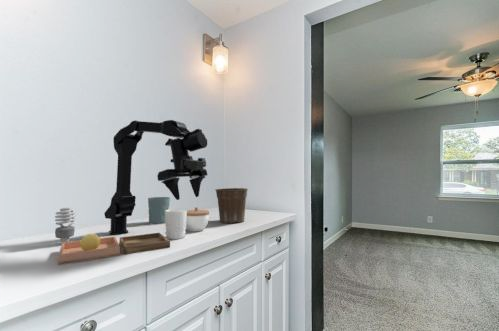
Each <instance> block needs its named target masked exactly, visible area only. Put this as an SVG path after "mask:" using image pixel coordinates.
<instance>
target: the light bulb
mask: <svg viewBox="0 0 499 331" xmlns="http://www.w3.org/2000/svg"><path fill="white" fill-rule="evenodd" d="M75 220H76V210H73V209H72V208H71V207H62V208H60V209H59V211H56V212H55V216H54V221H55V226H57V225H58V226H59V227H56V228H55V231H54V232H55V233H54V234H55V238H56V239H59V240H60V241H59V242H60V243H61V244H62V243H64V242H70V238H71V237H73V236H75V226H73V224H75ZM64 224H68V225H64Z"/></svg>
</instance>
